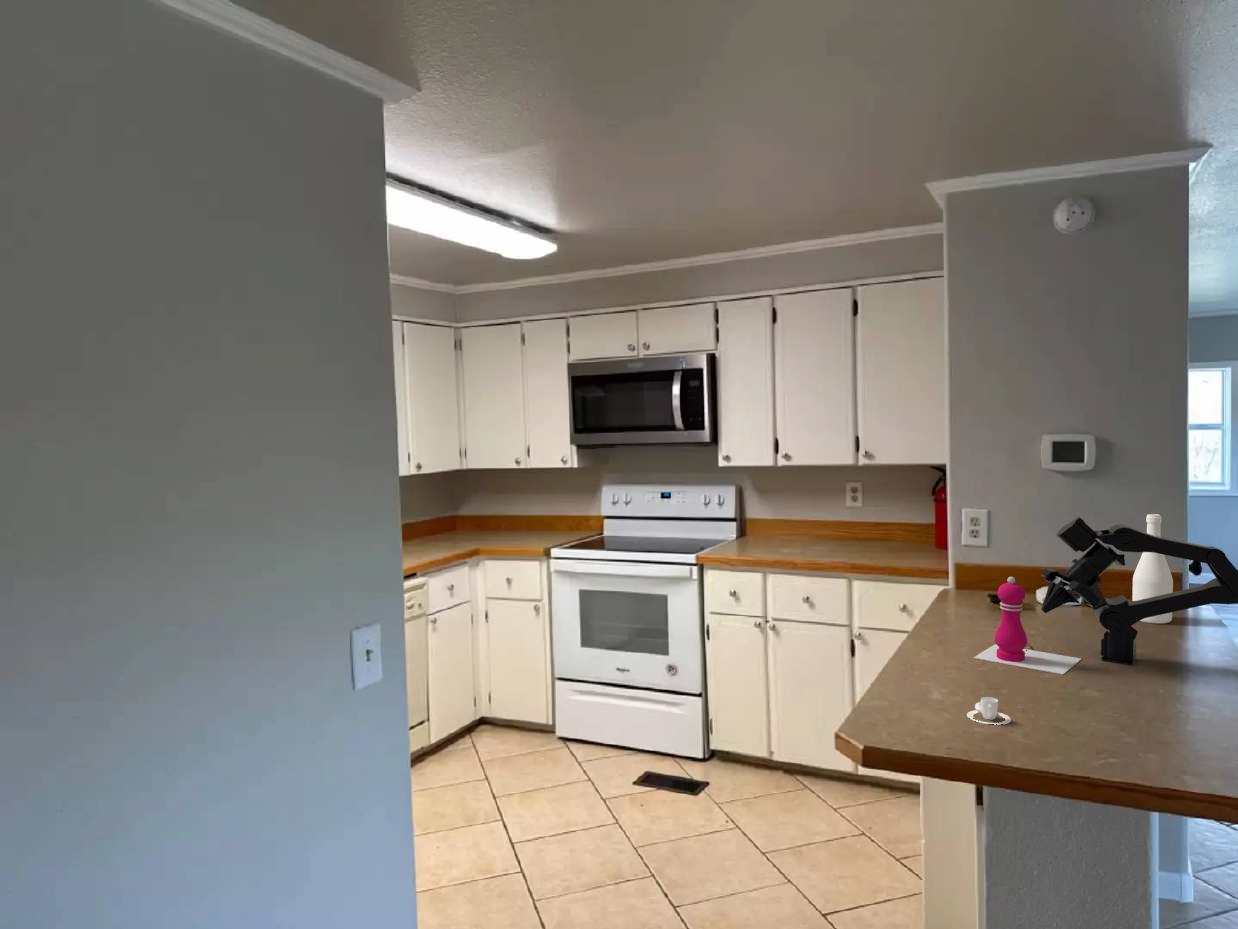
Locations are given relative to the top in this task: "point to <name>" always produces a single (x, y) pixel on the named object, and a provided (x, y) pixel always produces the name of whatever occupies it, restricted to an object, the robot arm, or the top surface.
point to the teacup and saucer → (988, 711)
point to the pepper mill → (1011, 623)
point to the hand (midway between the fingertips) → (1043, 611)
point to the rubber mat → (1034, 660)
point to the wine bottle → (1153, 573)
